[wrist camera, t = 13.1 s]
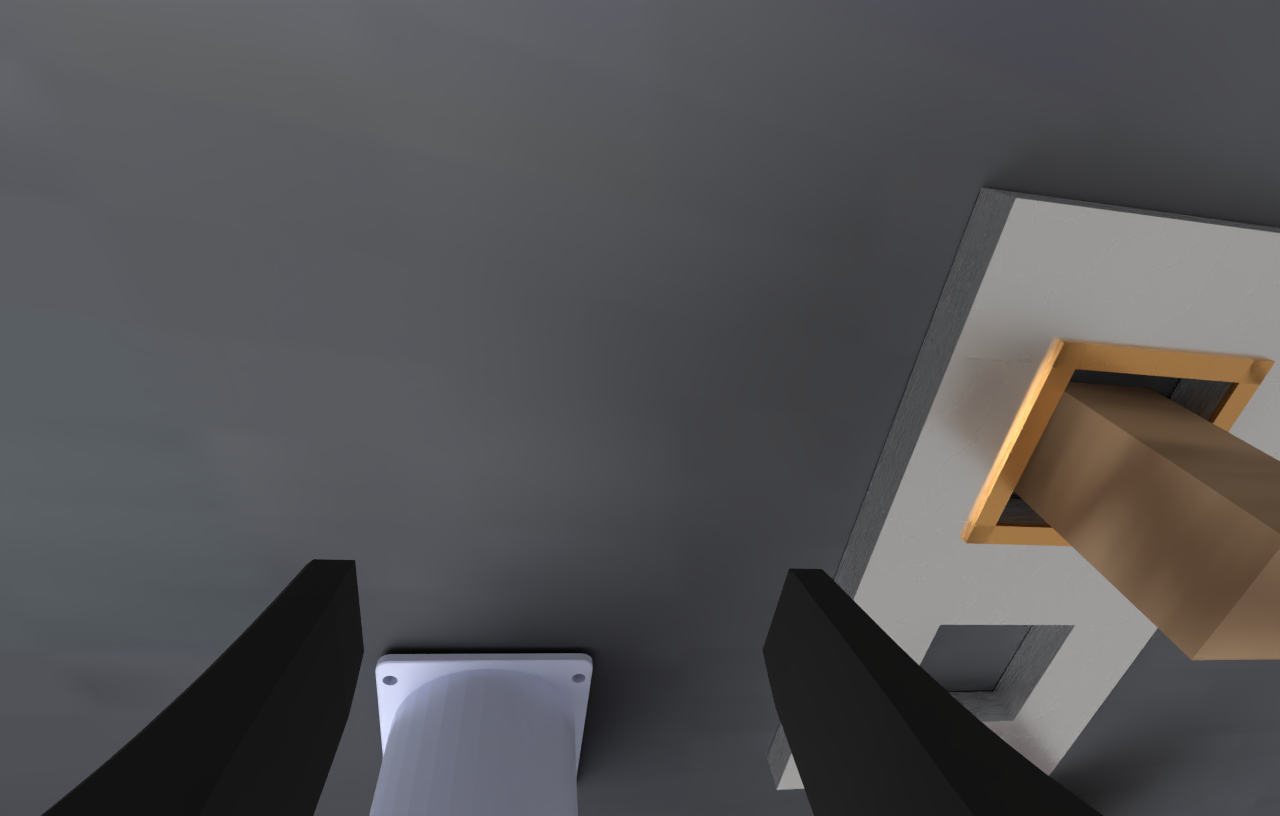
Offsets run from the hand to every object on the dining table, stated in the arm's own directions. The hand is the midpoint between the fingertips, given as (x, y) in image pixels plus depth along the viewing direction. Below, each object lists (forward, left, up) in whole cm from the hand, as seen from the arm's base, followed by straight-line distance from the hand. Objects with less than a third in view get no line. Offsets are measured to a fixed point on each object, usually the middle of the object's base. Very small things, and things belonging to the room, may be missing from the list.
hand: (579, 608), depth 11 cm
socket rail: (-6, -18, -9) cm, 21 cm away
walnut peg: (-1, -18, -9) cm, 20 cm away
